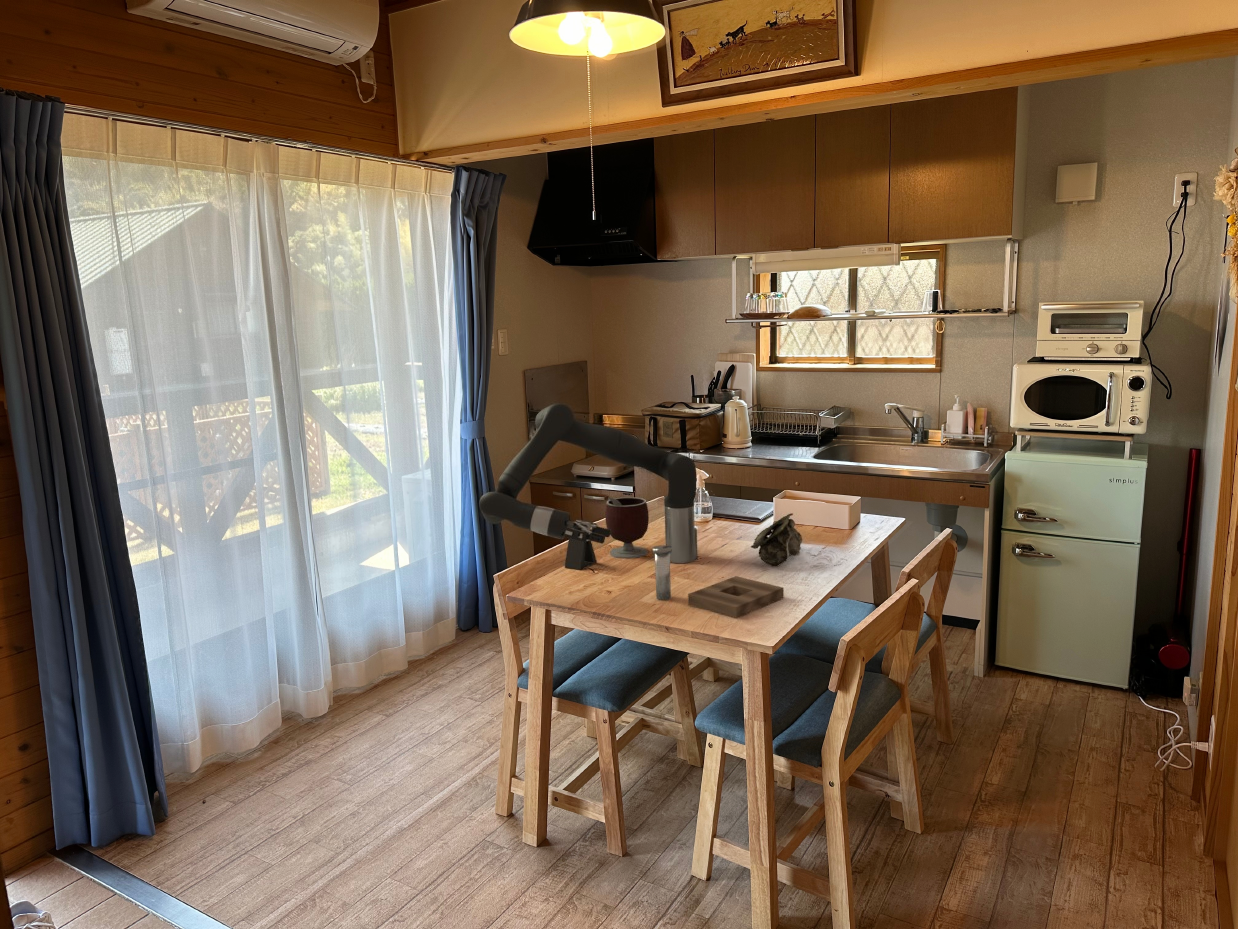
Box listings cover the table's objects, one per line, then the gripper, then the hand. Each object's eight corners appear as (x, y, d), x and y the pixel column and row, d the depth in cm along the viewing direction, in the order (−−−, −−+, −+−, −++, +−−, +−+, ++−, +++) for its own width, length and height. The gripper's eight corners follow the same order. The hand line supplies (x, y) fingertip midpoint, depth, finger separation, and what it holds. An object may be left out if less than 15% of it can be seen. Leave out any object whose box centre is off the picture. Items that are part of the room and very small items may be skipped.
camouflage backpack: (770, 587, 253) (805, 554, 247) (739, 556, 255) (773, 522, 249) (790, 558, 278) (822, 527, 272) (761, 530, 280) (793, 499, 274)
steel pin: (663, 593, 237) (661, 544, 234) (677, 597, 233) (675, 547, 230) (650, 598, 233) (648, 548, 231) (664, 602, 229) (662, 551, 227)
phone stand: (580, 570, 261) (578, 532, 259) (564, 568, 264) (562, 530, 262) (597, 562, 269) (595, 525, 266) (581, 560, 272) (579, 523, 270)
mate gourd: (625, 545, 287) (622, 486, 284) (658, 551, 279) (656, 490, 275) (594, 556, 276) (592, 495, 272) (628, 562, 267) (626, 500, 263)
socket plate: (736, 586, 240) (736, 576, 239) (783, 598, 229) (783, 587, 228) (688, 604, 226) (688, 594, 226) (736, 618, 215) (736, 607, 215)
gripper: (546, 513, 227) (605, 528, 225) (559, 505, 241) (614, 519, 239) (541, 540, 228) (599, 555, 226) (553, 530, 242) (609, 544, 240)
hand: (607, 536), depth 232 cm, fingers open, 8 cm apart
